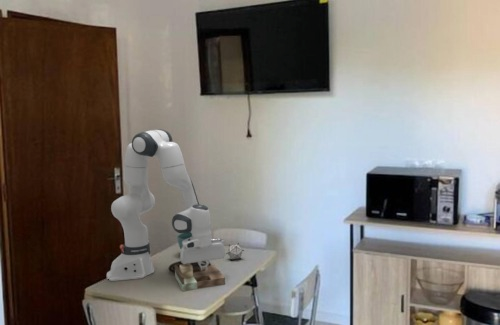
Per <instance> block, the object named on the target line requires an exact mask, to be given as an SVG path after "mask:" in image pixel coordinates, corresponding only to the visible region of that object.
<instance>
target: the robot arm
mask: <svg viewBox="0 0 500 325" xmlns="http://www.w3.org/2000/svg"><path fill="white" fill-rule="evenodd" d="M126 147H127V148H126V151H125V155H124V164H123V182H124V183H125V185H126V186H128V190H129V191H128V192H129V193H128V194H125V195H121V196H120V197H118V198H116V199H115V200H114V201H113V202H112V203H111V206H110V207H111V208H110V210H111V213H112V215H113V217H114V218H116V219H117V220H118V221H119V222H120V224H121V227H122V229H123V233H124V234H123V235H124V244H120V245H119V249H120V250H121V251H120V252H121V253H120V255H118V256H117V257H116V258H115V259H114V260H113V261H112V262H111V266H110V270H109V271H107V272H106V279H107V280H108V279H109V280H108V281H111V282H115V281H116V282H118V281H126V280H138V279H143V278H145V277H147V276H149V275H152V274H153V273H154V272H155V268H154V265H153V263H152V258H151V252H152V251H151V250H152V249H151V244H150V241H149V240H150V239H149V230H148V226H147V225H146V224H144V223H143V222H142V220H141V215H142V214H146V213H148V212H149V211H150V210H152V209H153V208H154V206H155V204H156V198H155V196H154V194H153V192H151V191H150V187H149V181H148V176H149V158H150V157H151V158H153V157H156V158H157V159H158V161H159V167H160V171H161V176H162V179H163V180H164V182H165V183H166V184H168V185H170V186H171V187H175V188H177V189H178V190H179V191H180V192H181V194H182V197H183V202H184V204H185V210H183V211H180V212H177V213H176V214H175V215H174V216H172V218H171V226H172V228H173V230H174V231H175V232H176V233H177V234H182V233H188V232H191V233H192V237H190V238H188V239H186V240H183V241H182V245H183V247H182V248H181V249H180V255H179V258H180V263H182V265H183V264H189V263H190V264H193V263H197V264H198V266H199V267H200V270H201V271H204V270H207V266H209V264H210V261H216V260H222V259H223V260H224V259H225V258H226V252H225V245H226V243H225V240H224V239H223V238H221V237H220V238H213V237H212V235H213V234H212V230H211V225H212V220H211V213H210V209H209V207H208V206H206V205H205V204H200V202H199V200H198V196H197V193H196V189H195V186H194V184H193V181H192V178H191V177H190V176H189V173H188V171H187V168H186V162H185V159H184V156H183V153H182V150H181V148H180V146H179V144H178V143H177V142H174V141H173V137H172V134H171V133H170V132H169V131H167V130H164V129H160V128H159V129H150V130H147V131H141V132H139V133H137V134H135V135H134V136H133V137H132V139H131V143H129V144H128V145H127V146H126ZM202 262H205V264H204V265H202Z"/></svg>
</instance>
